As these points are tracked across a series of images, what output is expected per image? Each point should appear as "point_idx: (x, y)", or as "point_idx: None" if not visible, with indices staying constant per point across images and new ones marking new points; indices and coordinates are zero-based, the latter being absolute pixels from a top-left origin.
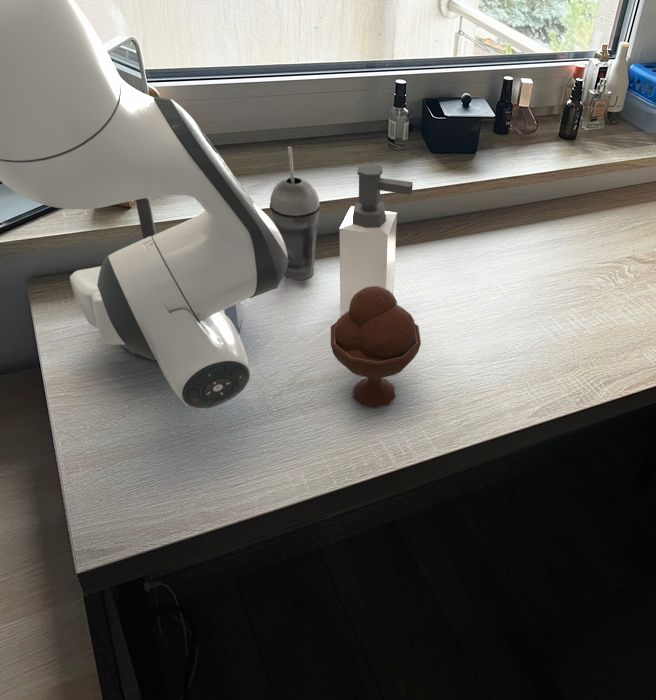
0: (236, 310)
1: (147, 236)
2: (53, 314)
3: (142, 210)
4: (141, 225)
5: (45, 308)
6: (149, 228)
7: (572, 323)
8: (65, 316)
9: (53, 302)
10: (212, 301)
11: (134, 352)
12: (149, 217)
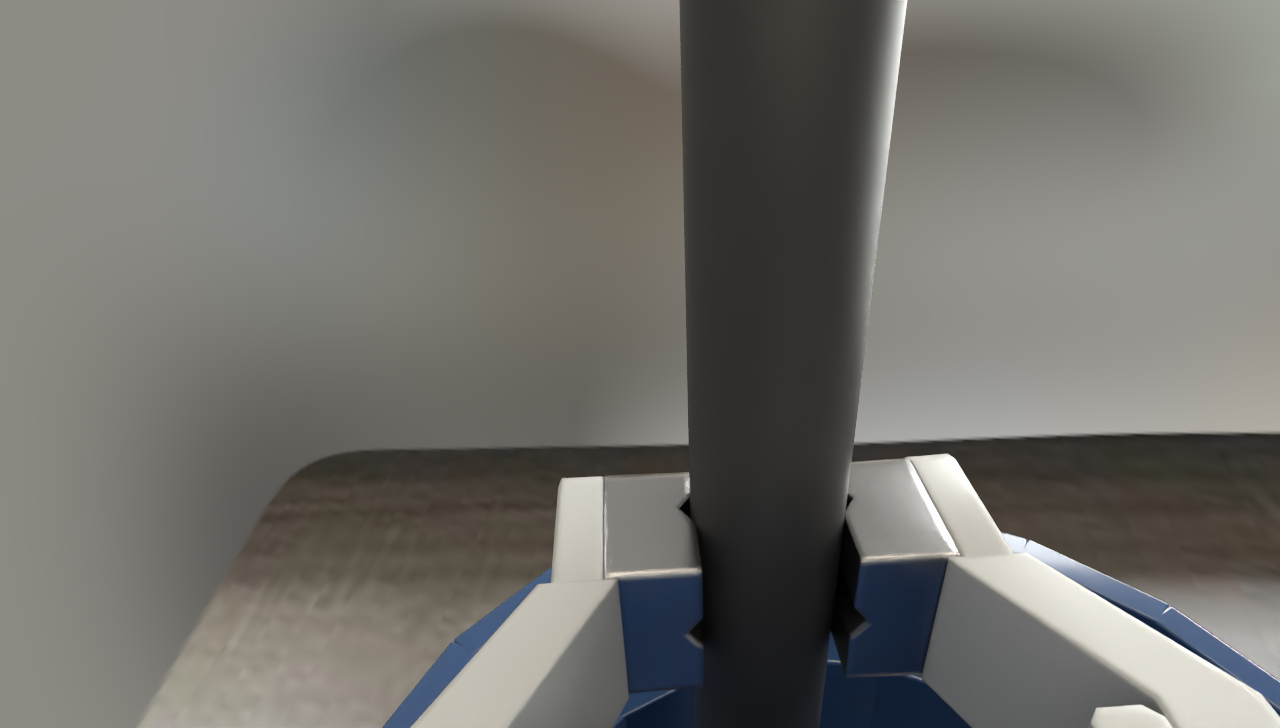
0: None
1: (747, 397)
2: (225, 676)
3: None
4: (695, 223)
5: (226, 623)
6: (804, 281)
7: None
8: (259, 709)
9: (277, 592)
10: None
11: None
12: (853, 77)
